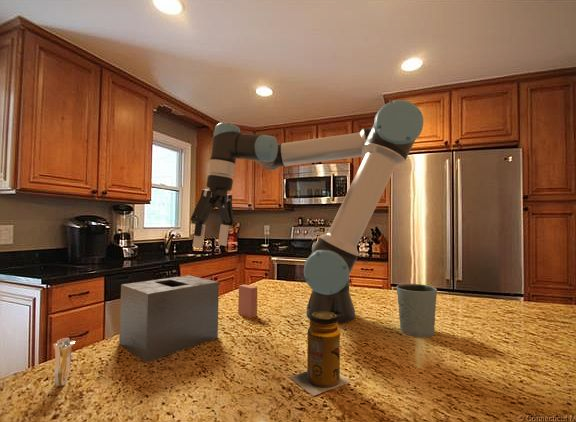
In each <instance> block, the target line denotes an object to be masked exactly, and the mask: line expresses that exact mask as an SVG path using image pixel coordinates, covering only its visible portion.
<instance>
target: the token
mask: <svg viewBox="0 0 576 422" xmlns="http://www.w3.org/2000/svg"><path fill="white" fill-rule="evenodd" d="M237 313H238V315H241V316H243V317H247V318H250V319H251V318H255V317H257V316H258V286H254V285H249V284H240V285H238V309H237Z"/></svg>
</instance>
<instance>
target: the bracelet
mask: <svg viewBox="0 0 576 422" xmlns="http://www.w3.org/2000/svg"><path fill="white" fill-rule="evenodd" d="M75 342H76V341H75V340H70V337H63V338H60V339H58V340H57V341H56V343H53V348H54V355H55V356H54V357H55V358H54V384H55V385H56V387H61V386H65V385H67V380H68V377H69V373H70V368H71V360H72V347H73V346H74V344H75ZM61 355H62V361H61Z"/></svg>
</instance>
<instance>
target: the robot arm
mask: <svg viewBox="0 0 576 422" xmlns="http://www.w3.org/2000/svg"><path fill="white" fill-rule="evenodd" d="M423 127H424V116H423V114H422V111H421V109H419V107H418V106H417V105H416V104H414V103H413V102H411V101H407V100H404V99H403V100H401V99H397V100H396V99H395V100H392V101H390V102H387V103H385V104H383V106H381V107H380V109H379V110H378V111H377V113H376V114H375V116H374V121H373V125H372V127H366V128H362V129H361V130H360V131H359V132H353V133H348V134H340V135H333V136H326V137H317V138H312V139H305V140H297V141H291V142H283V143H278V139H277V138H276V137H275V136H273V135H267V134H256V133H255V134H254V133H243V132H241V129H240V127H238V126H237V125H235V124H231V123H226V122H219V123H218V124H216V125H215V128H214V131H213V136H212V146H211V154H210V159H209V166H208V173H209V175H207V179H206V185H205V186H206V188H209V189H206V188H205V189H204V188H202V190H201V193H200V197H199V200H198V202H197V204H196V206H195V207H194V208H195V209H194V210H193V212H192V214H191V218H190V222H191V223H192V224H194V225H195V226H194V232H193V241H192V248H196V249H203V248H204V247H203V246H204V239H205V231H206V226H207V225H206V224H205V223H206V221H207V220H208V218H209V217H210V215H211V214H212V212H213V210H214V209H215V208H217V210H218V212H219V217H220V220H221V222H222V224H220V227H219V234H218V240H217V241H218V242H217V245H218V246H224V247H226V246H227V244H228V237H229V229H230V227H231V226H233V224H234V221H235V219H234V211H233V210H234V209H233V194H229V193H228V192H230V191H232V190H233V184H234V179H233V177H234V175H235V169H236V162H237V159H240V160H248V161H249V160H250V161H254V162H255V163H256V164H259V165H260V166H261V167H262V168H263V169H265V170H269V171H275V170H278V169H279V168H281V167H287V166H296V165H304V164H305V165H306V164H312V163H313V164H314V163H322V162H331V161H337V160H338V161H339V160H344V159H345V160H346V159H356V158H362V161H361V163H360V165H359V167H358V169H357V171H356V174H355V175H354V177H353V180H352V182H351V183H350V186H349V187H348V190H347V192H346V193H345V197H344V198H343V201H342V203H341V205H340V206H339V209H338V211H337V212H336V215H335V217H334V219H333V221H332V222H331V225H330V227H329V229H328V231H327V232H326V233H323V234H321V235H319V237H318V239H317V241H316V242H314V243H313V245H312V249H311V254H310V255H309V256H308V257H307V258H306V259H305V263H304V266H303V275H304V276H303V277H304V280H305V282H306V284H307V285H308V287H309V288H311V293H310V296H309V299H308V303H307V306H306V317H307V318H309V319H310V316H311V314H312V313H314V312H319V311H324V312H332V313H334V314H336V315H337V316H338V324H343V323H349V322H352V321H354V320H355V318H356V310H355V309H356V308H355V307H354V302H353V299H352V297H351V293H350V274H351V273H352V270H353V268H354V266H355V264H356V262H357V260H358V257H359V256H360V253H359V251H358V247H357V246H358V245H359V242H360V240H361V239H362V236H363V234H364V232H365V230H366V229H367V226H368V225H369V222H370V221H371V218H372V216H373V214H374V211H375V210H376V208H377V206H378V204H379V202H380V200H381V198H382V196H383V194H384V191H385V189H386V188H387V186H388V183H389V181H390V179H391V177H392V175H393V173H394V171H395V169H396V167H398V166H399V165H402V164H405V162H406V161H407V158H408V156H409V153H410V152H411V150H412V149H413V146H414V143H415V141H416V140H417V139H418V137H420V135H421V134H422V131H423Z"/></svg>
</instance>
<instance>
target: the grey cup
mask: <svg viewBox="0 0 576 422" xmlns="http://www.w3.org/2000/svg"><path fill="white" fill-rule="evenodd" d="M437 293H438V289H437V288H436V287H435V286H432V285H426V284H419V283H401V284H397V285H396V295H397V303H398V314H399V324H400V325H399V326H400V327H399V328H400V329H399V330H400V331H401V332H402V333H403V334H406V335H409V336H412V337H416V338H430V337H433V336H434V335H435V330H436V329H435V324H436V308H437V306H436V305H437V295H438V294H437Z"/></svg>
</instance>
